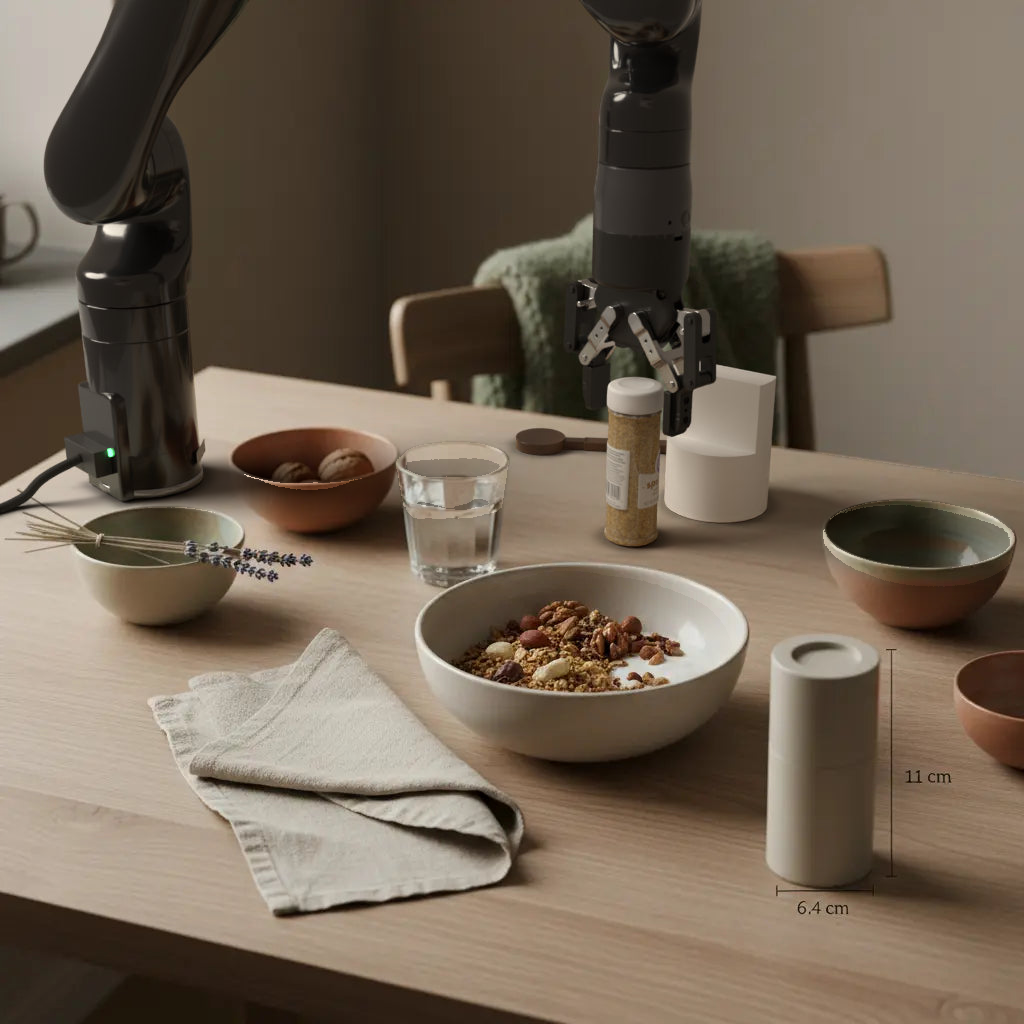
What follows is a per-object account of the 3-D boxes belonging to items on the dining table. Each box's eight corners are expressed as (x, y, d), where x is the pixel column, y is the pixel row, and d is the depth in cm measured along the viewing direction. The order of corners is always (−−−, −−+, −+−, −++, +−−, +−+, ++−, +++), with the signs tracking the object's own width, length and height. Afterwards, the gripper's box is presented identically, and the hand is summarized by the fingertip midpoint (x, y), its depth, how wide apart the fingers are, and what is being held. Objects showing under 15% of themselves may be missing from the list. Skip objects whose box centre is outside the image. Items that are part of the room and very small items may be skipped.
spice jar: (663, 547, 124) (670, 391, 119) (608, 549, 124) (613, 393, 118) (651, 524, 128) (657, 373, 123) (598, 527, 128) (602, 375, 122)
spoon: (698, 442, 147) (698, 433, 146) (699, 460, 142) (700, 450, 142) (517, 436, 148) (517, 427, 148) (513, 454, 144) (513, 444, 143)
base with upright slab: (645, 506, 132) (650, 375, 127) (695, 475, 139) (701, 350, 134) (737, 530, 127) (746, 395, 122) (784, 497, 134) (794, 368, 129)
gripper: (542, 213, 118) (540, 409, 124) (679, 243, 108) (670, 455, 115) (608, 200, 123) (604, 390, 129) (746, 228, 113) (733, 432, 119)
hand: (635, 420), depth 122 cm, fingers open, 8 cm apart
